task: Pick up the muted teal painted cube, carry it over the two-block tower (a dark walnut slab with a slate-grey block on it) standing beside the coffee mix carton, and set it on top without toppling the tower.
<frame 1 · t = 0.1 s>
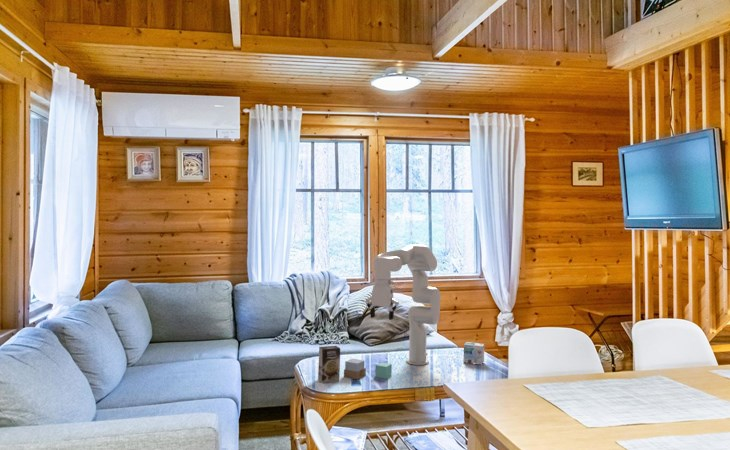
hand: (381, 318, 235), 31 cm above the table, tool pointing down, fingers open, 9 cm apart
coffee box: (328, 381, 237), on the table
walnut base block: (354, 376, 244), on the table, touching slate grey top block
teal cube: (383, 376, 246), on the table
light bulb box: (473, 363, 275), on the table
slate grey top block: (354, 369, 244), point 4 cm above the table, touching walnut base block
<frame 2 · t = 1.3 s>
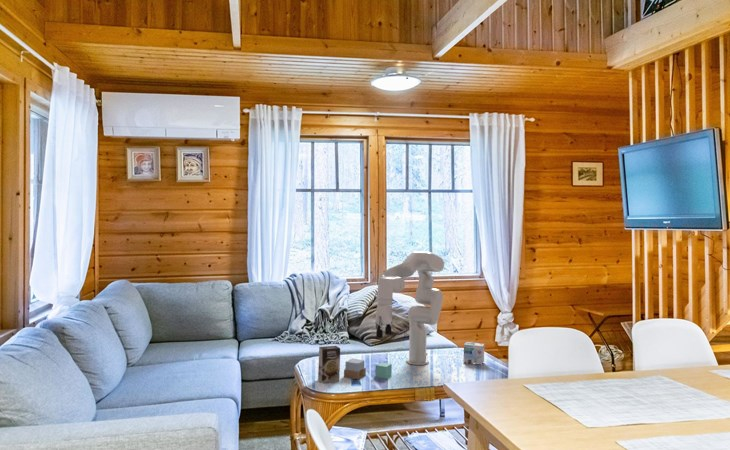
hand: (383, 336, 246), 20 cm above the table, tool pointing down, fingers open, 9 cm apart
nothing on the table moved.
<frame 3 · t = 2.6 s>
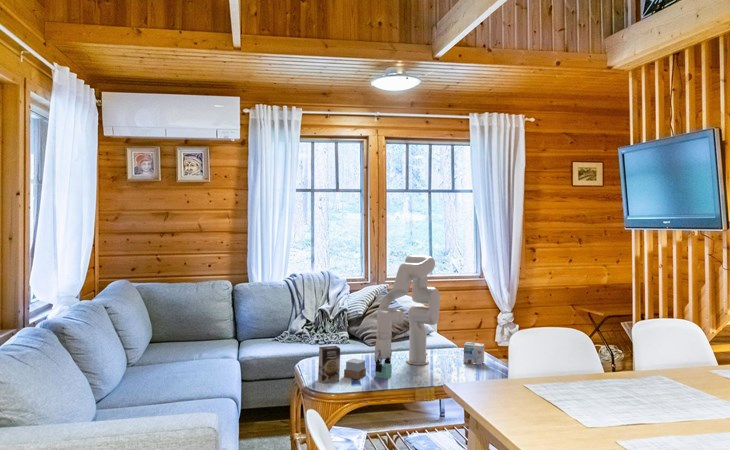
hand: (383, 369, 245), 3 cm above the table, tool pointing down, fingers open, 9 cm apart
walnut base block: (354, 376, 244), on the table
slate grey top block: (355, 368, 245), point 4 cm above the table
everything else where it was.
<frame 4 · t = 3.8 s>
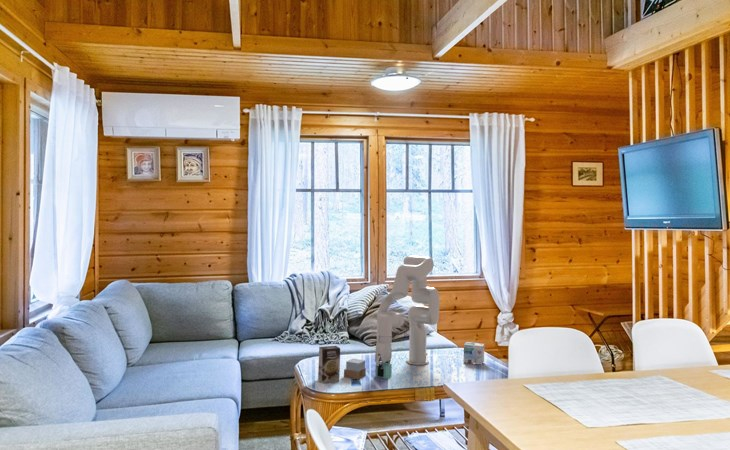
hand: (383, 374, 246), 1 cm above the table, tool pointing down, fingers closed on teal cube, 6 cm apart
walnut base block: (354, 376, 244), on the table, touching slate grey top block
teal cube: (383, 376, 246), on the table, touching gripper
slate grey top block: (355, 368, 245), point 4 cm above the table, touching walnut base block
everything else where it was.
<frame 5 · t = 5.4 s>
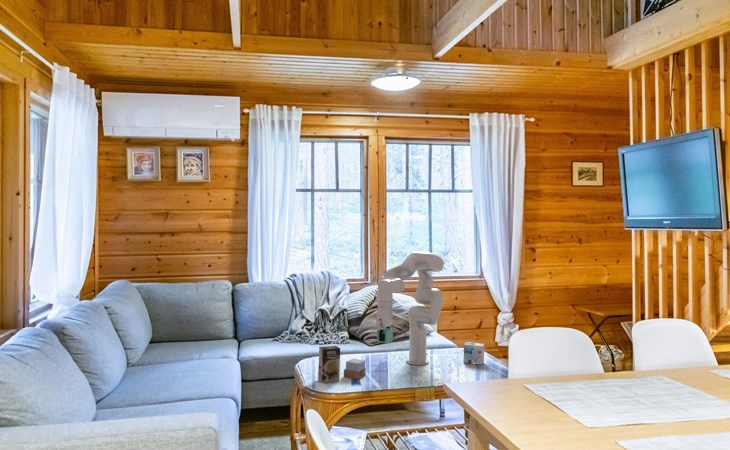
hand: (385, 339, 246), 18 cm above the table, tool pointing down, fingers closed on teal cube, 6 cm apart
teal cube: (384, 341, 246), point 17 cm above the table, touching gripper
everything else where it was.
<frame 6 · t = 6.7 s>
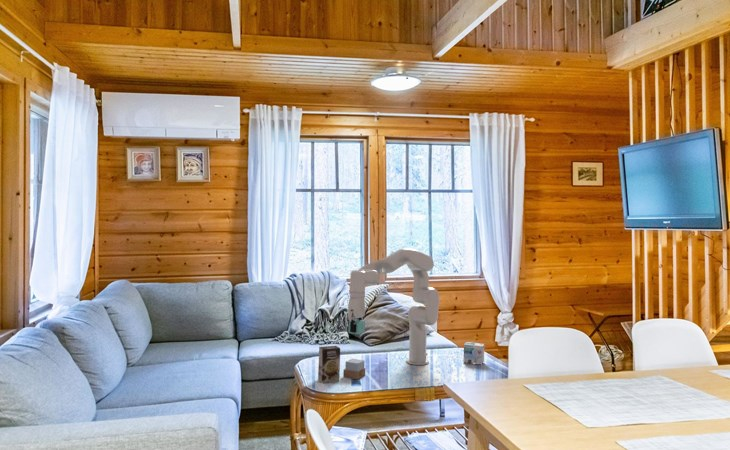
hand: (356, 330, 245), 23 cm above the table, tool pointing down, fingers closed on teal cube, 6 cm apart
teal cube: (356, 332, 245), point 22 cm above the table, touching gripper
everything else where it was.
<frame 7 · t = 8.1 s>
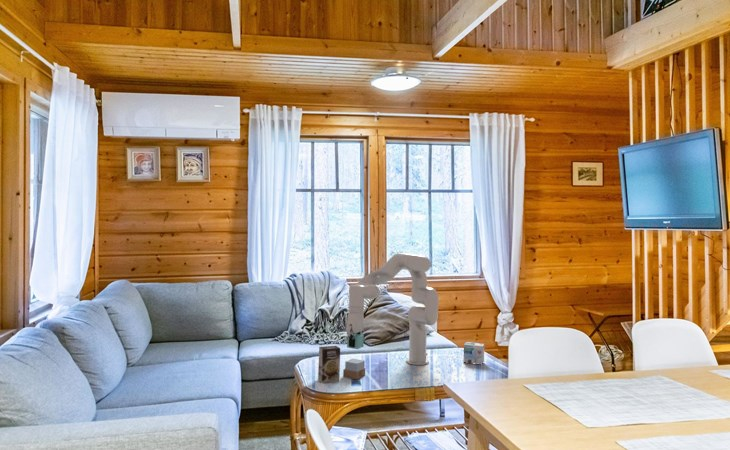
hand: (355, 345, 245), 16 cm above the table, tool pointing down, fingers closed on teal cube, 6 cm apart
teal cube: (355, 347, 245), point 15 cm above the table, touching gripper
everything else where it was.
when the fingers open (10 cm above the table, at t = 10.0 s): teal cube drops 1 cm, point 8 cm above the table.
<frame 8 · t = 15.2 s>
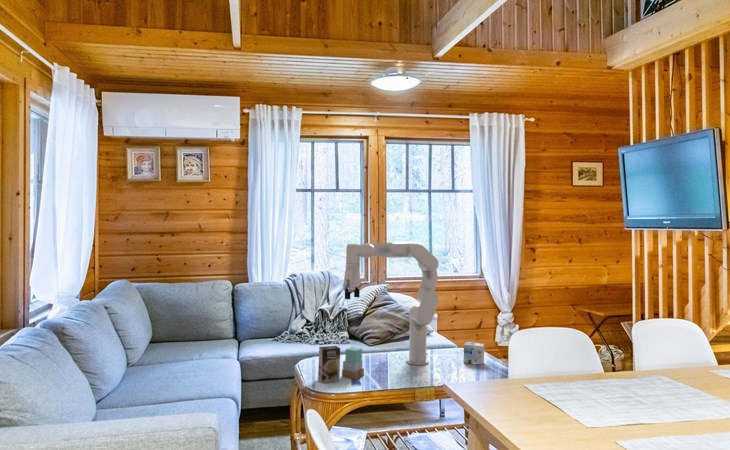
hand: (352, 298, 265), 36 cm above the table, tool pointing down, fingers open, 9 cm apart
teal cube: (353, 360, 244), point 8 cm above the table
slate grey top block: (352, 369, 244), point 4 cm above the table, touching walnut base block
everything else where it was.
at the end: teal cube 0.5 cm off-centre on the slate grey top block, point 4.0 cm above the slate grey top block's base; teal cube point 7.7 cm above the table; slate grey top block tilted 0° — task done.
